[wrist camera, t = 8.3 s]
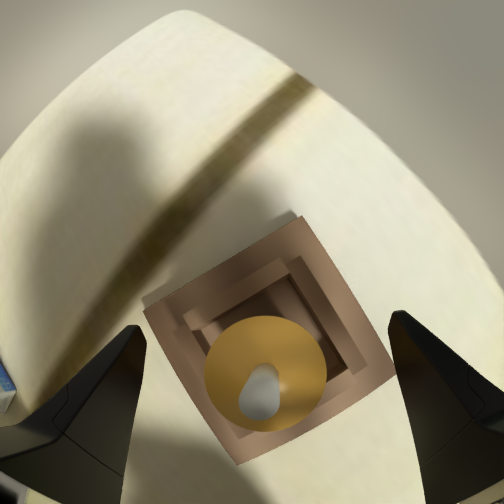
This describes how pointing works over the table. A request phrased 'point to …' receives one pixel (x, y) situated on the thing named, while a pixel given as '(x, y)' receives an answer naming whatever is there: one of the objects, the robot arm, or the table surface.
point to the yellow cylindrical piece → (265, 373)
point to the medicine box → (5, 390)
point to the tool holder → (279, 305)
